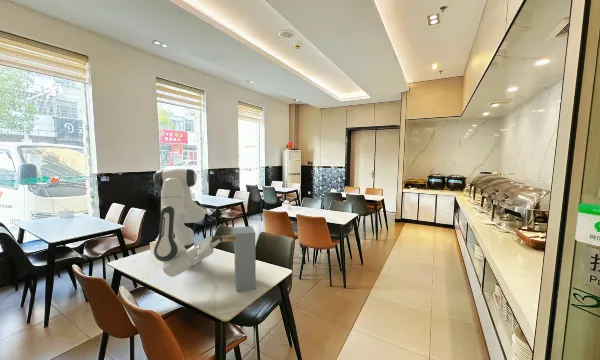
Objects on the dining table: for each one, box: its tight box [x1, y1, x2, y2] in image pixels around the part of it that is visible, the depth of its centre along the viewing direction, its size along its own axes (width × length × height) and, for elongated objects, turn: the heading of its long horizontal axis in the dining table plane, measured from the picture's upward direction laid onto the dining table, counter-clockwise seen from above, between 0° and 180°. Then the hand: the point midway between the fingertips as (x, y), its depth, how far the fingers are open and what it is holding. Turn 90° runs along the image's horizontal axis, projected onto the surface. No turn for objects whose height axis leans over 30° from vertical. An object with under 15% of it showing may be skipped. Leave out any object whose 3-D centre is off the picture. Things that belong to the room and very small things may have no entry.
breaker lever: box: [211, 234, 235, 243], centre depth 131 cm, size 3×16×3 cm, turn 109°
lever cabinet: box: [233, 226, 257, 293], centre depth 135 cm, size 13×11×31 cm
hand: (220, 238), depth 130 cm, fingers closed on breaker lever, 3 cm apart
